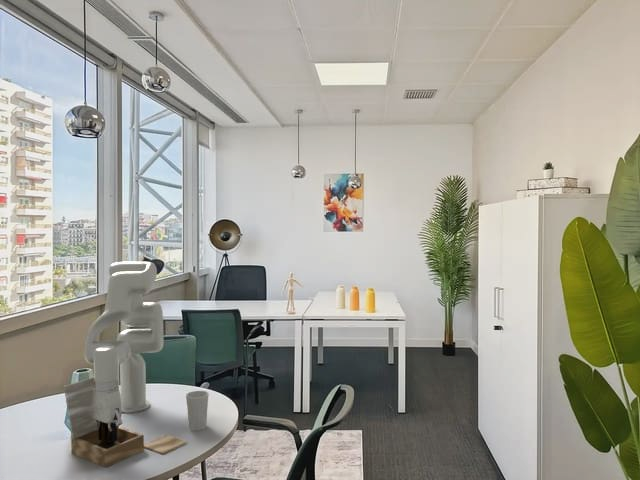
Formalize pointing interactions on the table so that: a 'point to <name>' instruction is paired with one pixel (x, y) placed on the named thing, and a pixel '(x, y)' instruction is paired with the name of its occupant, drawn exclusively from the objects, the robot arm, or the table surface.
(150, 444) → the cork mat
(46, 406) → the table surface
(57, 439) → the table surface
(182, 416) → the table surface
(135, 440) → the cold frame
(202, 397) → the cup
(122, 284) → the robot arm
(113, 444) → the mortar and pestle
